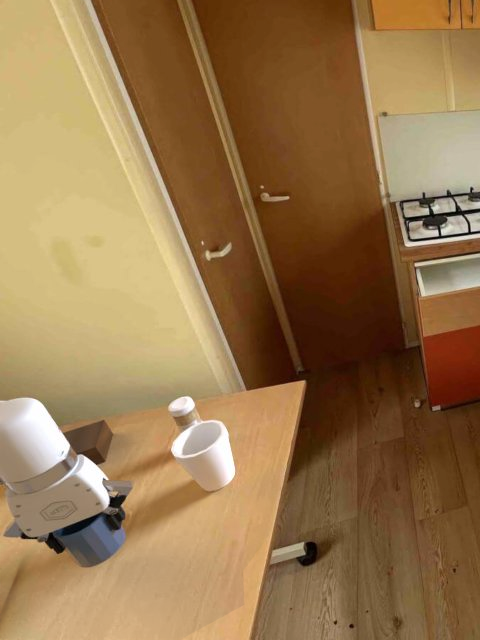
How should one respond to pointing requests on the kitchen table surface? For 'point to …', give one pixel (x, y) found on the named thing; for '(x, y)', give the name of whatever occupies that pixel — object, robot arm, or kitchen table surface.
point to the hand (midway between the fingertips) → (92, 533)
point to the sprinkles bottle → (184, 413)
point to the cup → (90, 540)
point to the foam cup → (206, 454)
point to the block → (91, 441)
